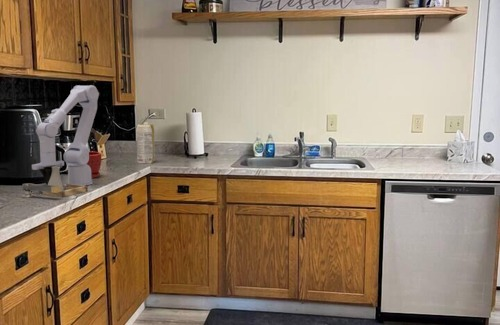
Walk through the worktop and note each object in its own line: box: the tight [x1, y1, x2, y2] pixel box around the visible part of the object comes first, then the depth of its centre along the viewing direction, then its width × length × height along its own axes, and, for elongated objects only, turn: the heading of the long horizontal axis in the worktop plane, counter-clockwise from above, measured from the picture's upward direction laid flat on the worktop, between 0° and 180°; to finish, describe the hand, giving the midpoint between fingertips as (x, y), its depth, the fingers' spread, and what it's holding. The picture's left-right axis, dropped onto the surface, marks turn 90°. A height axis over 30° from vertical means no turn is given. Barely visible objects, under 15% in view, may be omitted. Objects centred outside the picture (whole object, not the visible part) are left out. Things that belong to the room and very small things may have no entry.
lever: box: [21, 182, 61, 193], centre depth 178 cm, size 16×4×2 cm, turn 71°
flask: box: [48, 166, 65, 191], centre depth 188 cm, size 7×7×10 cm
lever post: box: [21, 190, 35, 198], centre depth 180 cm, size 4×4×3 cm
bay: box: [42, 183, 89, 198], centre depth 187 cm, size 13×10×2 cm
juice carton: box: [136, 122, 156, 165], centre depth 272 cm, size 9×8×24 cm
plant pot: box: [87, 151, 102, 179], centre depth 223 cm, size 13×13×12 cm
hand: (49, 184), depth 191 cm, fingers closed, pressing on flask
